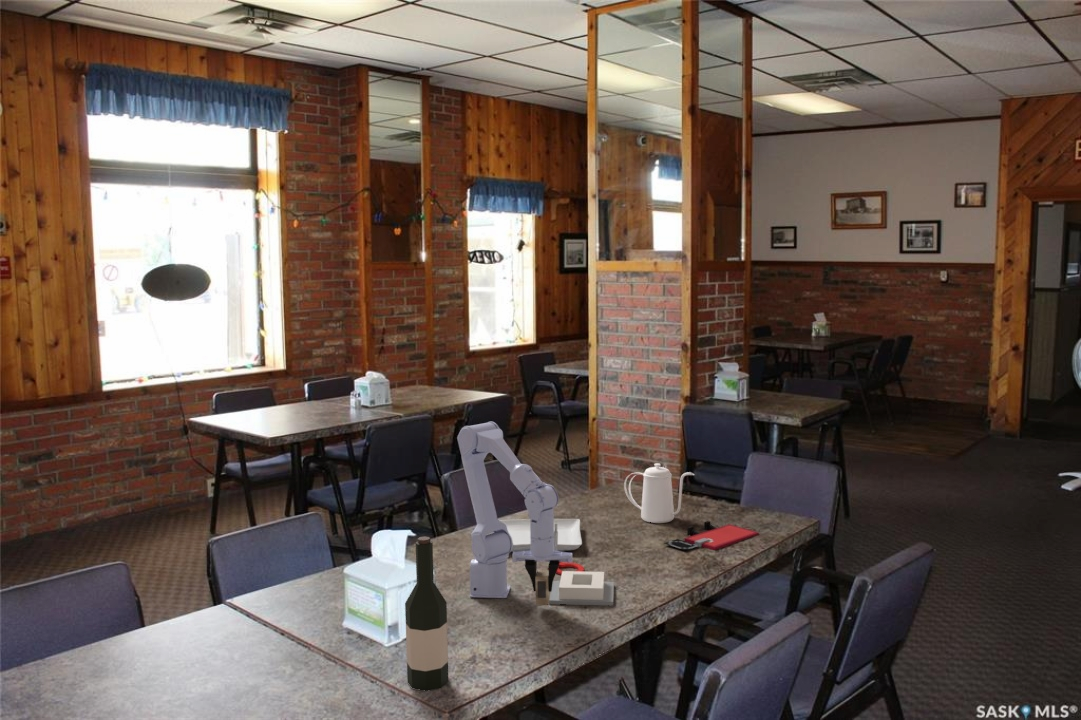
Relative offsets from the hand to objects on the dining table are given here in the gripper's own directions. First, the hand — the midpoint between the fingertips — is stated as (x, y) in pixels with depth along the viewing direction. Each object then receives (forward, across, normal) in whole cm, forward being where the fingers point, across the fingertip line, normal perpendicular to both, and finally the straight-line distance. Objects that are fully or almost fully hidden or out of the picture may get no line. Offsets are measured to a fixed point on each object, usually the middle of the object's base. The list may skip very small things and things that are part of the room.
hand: (542, 590), depth 218 cm
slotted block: (+5, +9, +11) cm, 15 cm away
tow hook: (+6, +4, +29) cm, 30 cm away
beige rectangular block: (+3, 0, 0) cm, 3 cm away
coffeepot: (+6, +31, +80) cm, 86 cm away
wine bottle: (+5, -20, -39) cm, 44 cm away
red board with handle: (+6, +46, +59) cm, 75 cm away
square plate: (+6, -7, +55) cm, 56 cm away
